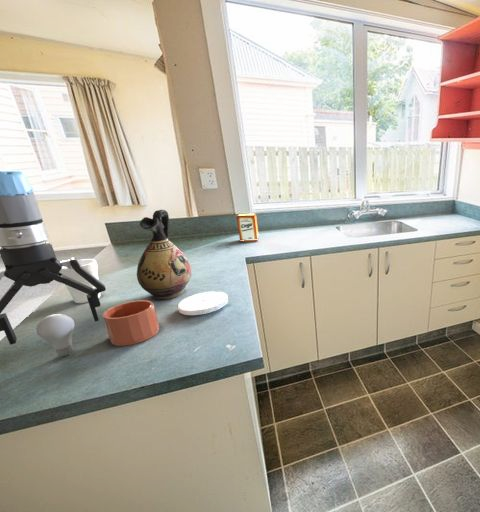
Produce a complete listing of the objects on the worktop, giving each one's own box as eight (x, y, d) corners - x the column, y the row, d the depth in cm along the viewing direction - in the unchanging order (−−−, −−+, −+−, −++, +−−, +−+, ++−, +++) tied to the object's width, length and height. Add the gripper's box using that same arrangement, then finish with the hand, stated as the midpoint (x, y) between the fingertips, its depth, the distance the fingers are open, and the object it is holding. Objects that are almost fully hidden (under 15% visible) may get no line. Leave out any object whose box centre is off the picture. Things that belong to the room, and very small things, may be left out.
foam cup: (103, 301, 100) (92, 265, 96) (65, 308, 95) (51, 270, 91) (108, 291, 108) (97, 257, 104) (72, 297, 103) (60, 261, 99)
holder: (100, 346, 77) (91, 318, 74) (131, 324, 86) (124, 300, 84) (141, 345, 77) (133, 318, 74) (167, 324, 87) (162, 300, 84)
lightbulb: (80, 344, 77) (67, 307, 73) (86, 353, 74) (73, 314, 70) (46, 356, 72) (30, 317, 69) (50, 366, 69) (34, 325, 65)
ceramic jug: (183, 302, 100) (164, 215, 91) (132, 305, 98) (108, 215, 89) (203, 282, 116) (189, 206, 107) (160, 284, 114) (142, 207, 105)
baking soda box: (240, 242, 173) (236, 215, 168) (242, 239, 179) (238, 213, 174) (257, 241, 176) (254, 214, 171) (259, 238, 182) (255, 212, 177)
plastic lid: (235, 307, 98) (234, 300, 97) (187, 323, 88) (185, 315, 87) (219, 294, 107) (217, 288, 106) (173, 307, 97) (172, 300, 96)
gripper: (-83, 261, 53) (-33, 360, 59) (103, 237, 70) (127, 316, 77) (-71, 252, 58) (-25, 345, 64) (100, 232, 75) (123, 306, 82)
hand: (57, 329), depth 71 cm, fingers open, 13 cm apart
